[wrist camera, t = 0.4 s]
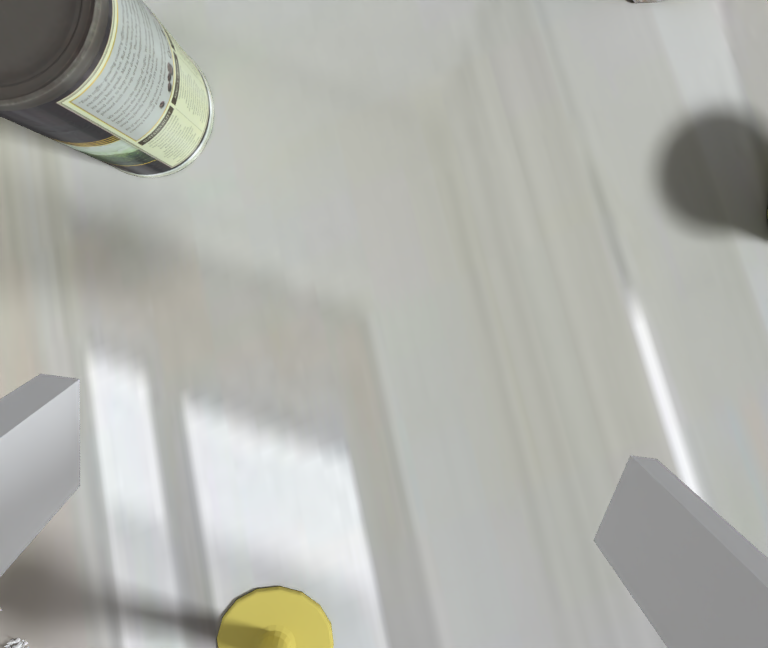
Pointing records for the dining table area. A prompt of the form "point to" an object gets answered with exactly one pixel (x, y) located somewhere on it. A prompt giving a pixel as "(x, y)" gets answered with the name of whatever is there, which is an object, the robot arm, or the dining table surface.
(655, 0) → the coral
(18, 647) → the game piece set
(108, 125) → the coffee can
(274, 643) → the candle
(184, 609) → the dining table surface
